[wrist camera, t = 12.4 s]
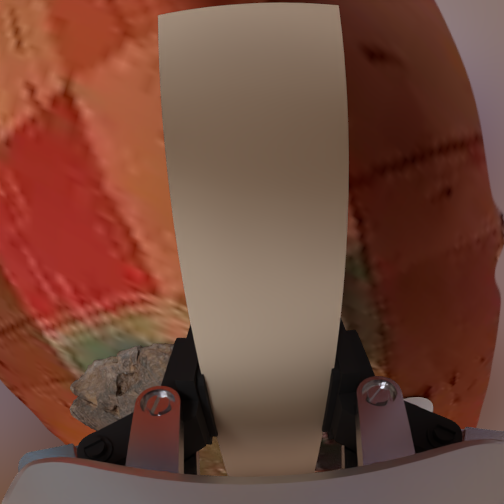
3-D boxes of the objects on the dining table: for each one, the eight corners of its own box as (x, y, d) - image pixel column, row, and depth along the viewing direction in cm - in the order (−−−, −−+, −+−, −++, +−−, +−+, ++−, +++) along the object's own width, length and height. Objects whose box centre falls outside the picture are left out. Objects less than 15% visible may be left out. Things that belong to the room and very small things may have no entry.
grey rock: (111, 430, 37) (233, 417, 34) (101, 454, 33) (229, 450, 29) (51, 361, 32) (175, 331, 29) (34, 385, 28) (161, 364, 24)
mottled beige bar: (200, 61, 9) (158, 15, 5) (302, 55, 9) (338, 5, 4) (242, 443, 17) (239, 511, 12) (298, 441, 17) (304, 509, 12)
